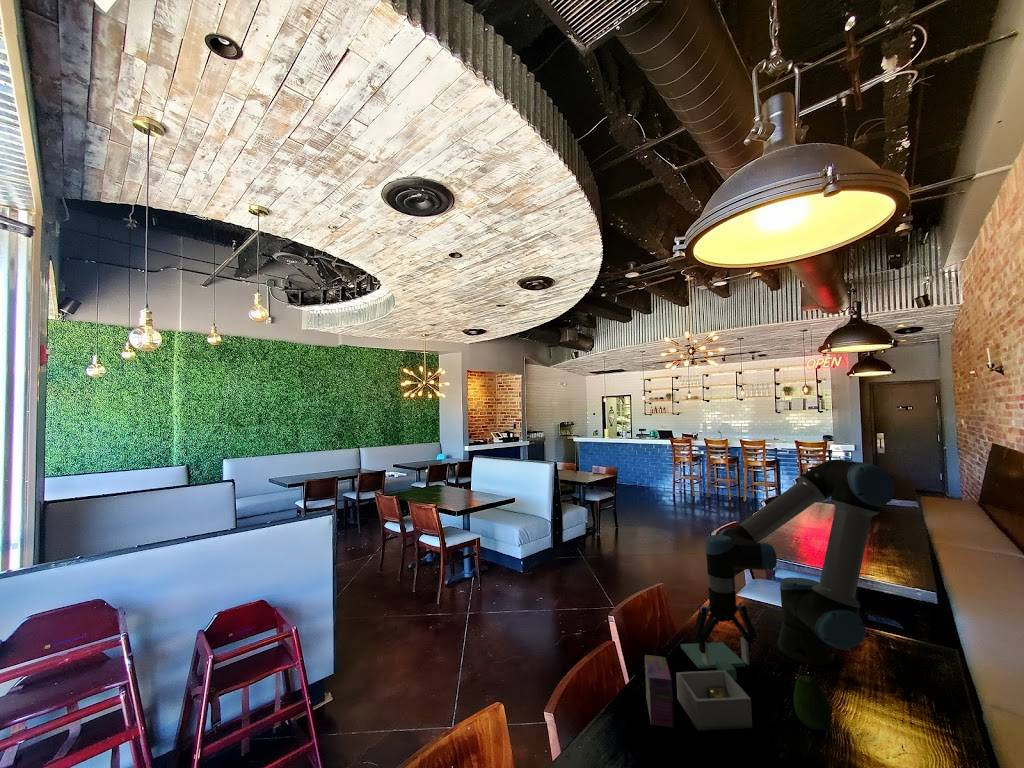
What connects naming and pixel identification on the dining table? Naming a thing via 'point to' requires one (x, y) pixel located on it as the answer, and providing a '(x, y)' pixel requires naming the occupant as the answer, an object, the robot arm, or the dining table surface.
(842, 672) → the dining table surface
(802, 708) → the avocado
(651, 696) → the box
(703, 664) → the lid
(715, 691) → the brass roller
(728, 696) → the tub
